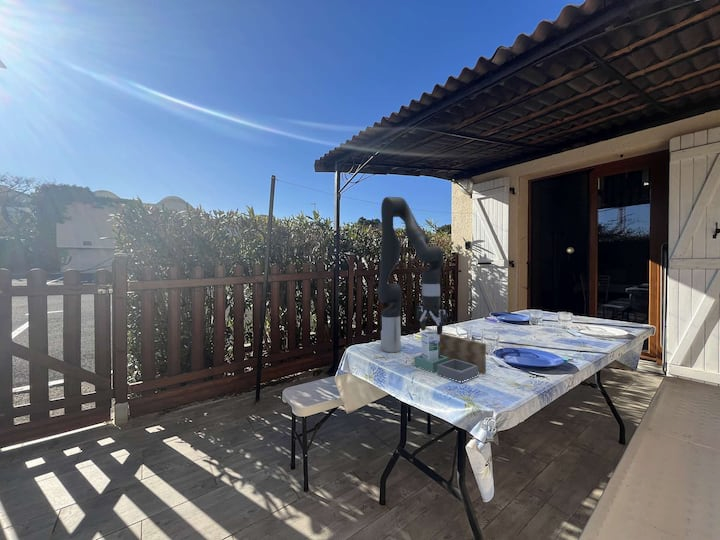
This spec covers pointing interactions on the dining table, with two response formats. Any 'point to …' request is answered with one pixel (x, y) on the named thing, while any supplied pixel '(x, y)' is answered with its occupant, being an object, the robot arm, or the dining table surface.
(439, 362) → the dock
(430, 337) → the syrup box
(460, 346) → the back panel
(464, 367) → the box
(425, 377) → the dining table surface
